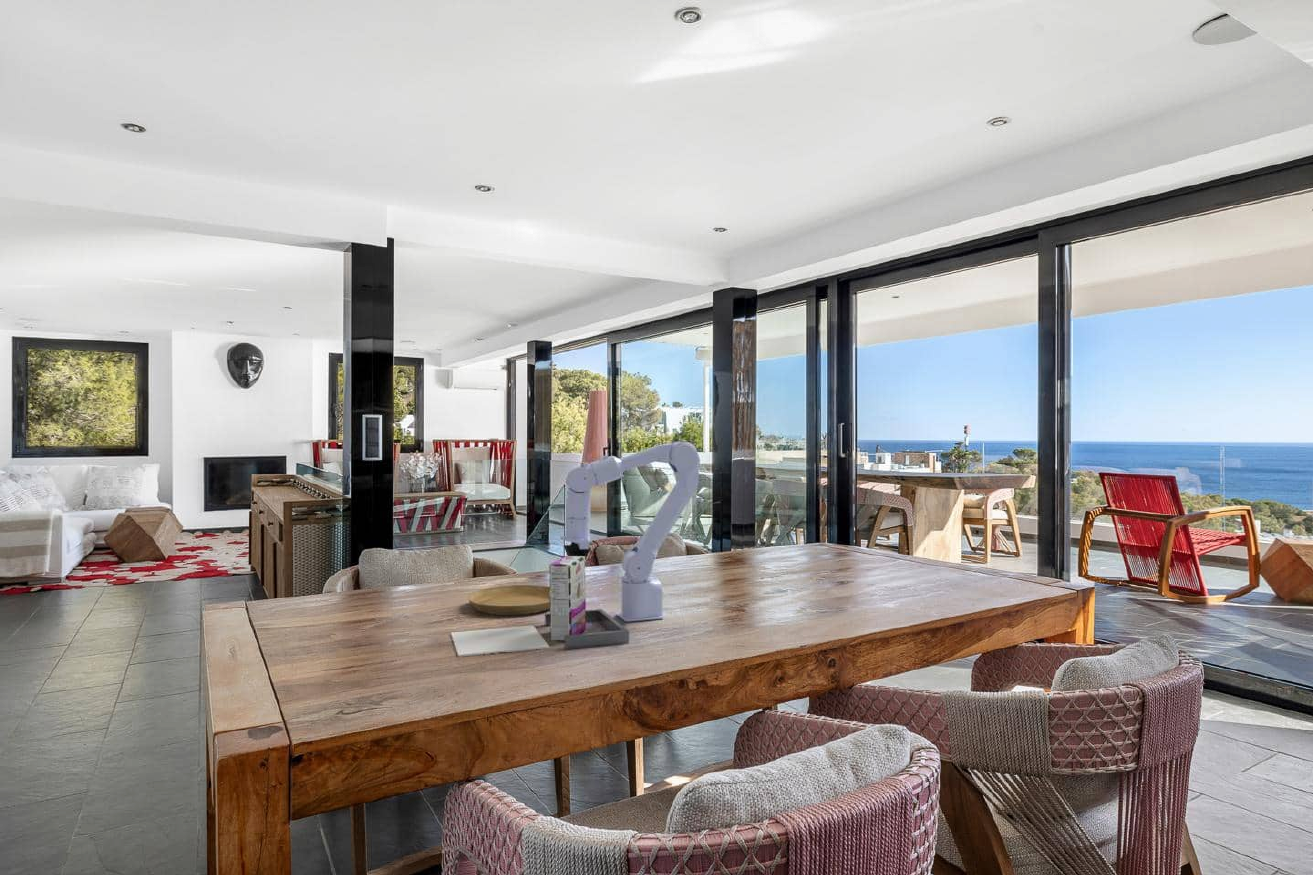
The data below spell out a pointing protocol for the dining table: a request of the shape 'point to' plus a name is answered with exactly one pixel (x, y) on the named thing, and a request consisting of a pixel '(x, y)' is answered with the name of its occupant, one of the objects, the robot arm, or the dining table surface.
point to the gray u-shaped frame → (613, 636)
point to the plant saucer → (511, 599)
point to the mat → (497, 640)
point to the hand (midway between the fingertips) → (576, 575)
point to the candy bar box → (567, 597)
